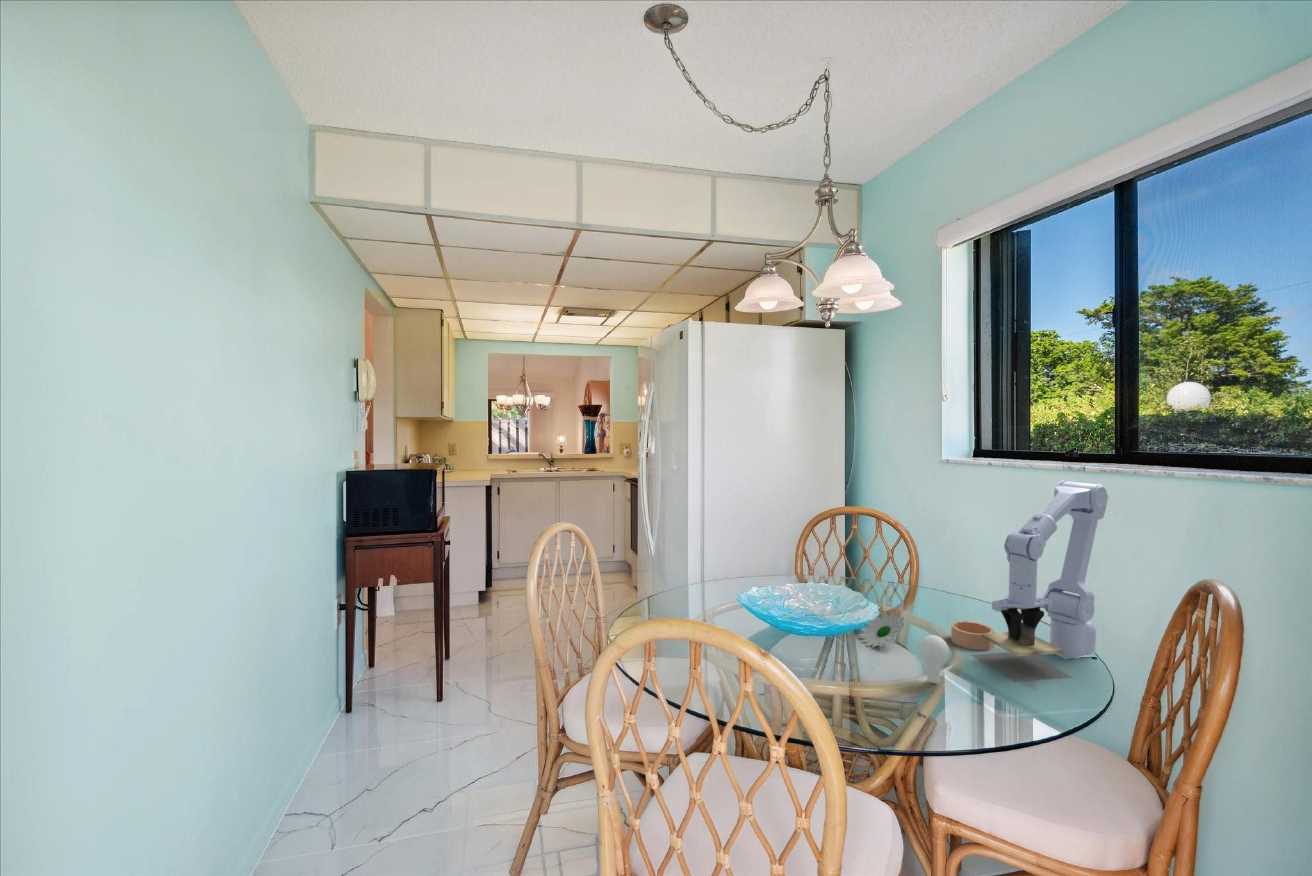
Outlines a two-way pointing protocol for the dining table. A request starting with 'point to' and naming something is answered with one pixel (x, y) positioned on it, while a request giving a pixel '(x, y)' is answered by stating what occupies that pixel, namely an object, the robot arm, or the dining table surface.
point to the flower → (882, 629)
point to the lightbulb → (933, 656)
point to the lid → (1022, 642)
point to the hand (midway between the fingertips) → (1021, 638)
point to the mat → (1021, 666)
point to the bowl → (971, 635)
